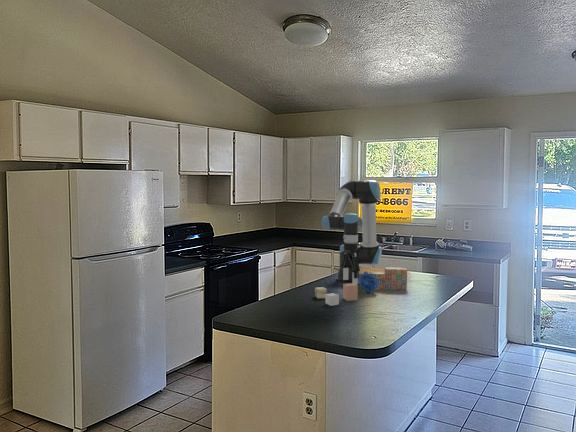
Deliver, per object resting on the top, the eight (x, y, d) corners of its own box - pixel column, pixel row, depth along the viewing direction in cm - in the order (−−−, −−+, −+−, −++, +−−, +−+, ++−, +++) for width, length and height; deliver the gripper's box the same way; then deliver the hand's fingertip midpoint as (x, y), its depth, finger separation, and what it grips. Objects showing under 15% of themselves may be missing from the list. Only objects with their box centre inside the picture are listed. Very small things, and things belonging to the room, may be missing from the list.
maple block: (315, 296, 277) (315, 287, 276) (323, 296, 278) (323, 287, 277) (317, 298, 272) (317, 289, 271) (326, 298, 273) (326, 289, 273)
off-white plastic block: (325, 303, 260) (325, 294, 260) (333, 302, 263) (333, 293, 263) (330, 305, 256) (330, 296, 256) (339, 304, 259) (339, 295, 258)
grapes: (355, 293, 285) (355, 272, 285) (359, 290, 291) (359, 270, 291) (375, 295, 280) (375, 273, 279) (379, 292, 286) (379, 271, 285)
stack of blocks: (369, 289, 296) (370, 268, 295) (369, 287, 302) (369, 266, 301) (406, 290, 294) (407, 269, 293) (405, 288, 300) (405, 267, 299)
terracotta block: (343, 298, 273) (343, 283, 272) (353, 297, 274) (353, 283, 274) (346, 300, 267) (347, 285, 266) (357, 300, 268) (357, 285, 268)
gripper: (336, 240, 280) (335, 278, 281) (352, 245, 255) (352, 286, 257) (348, 240, 281) (348, 277, 283) (366, 244, 257) (366, 286, 258)
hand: (350, 282), depth 270 cm, fingers open, 13 cm apart
